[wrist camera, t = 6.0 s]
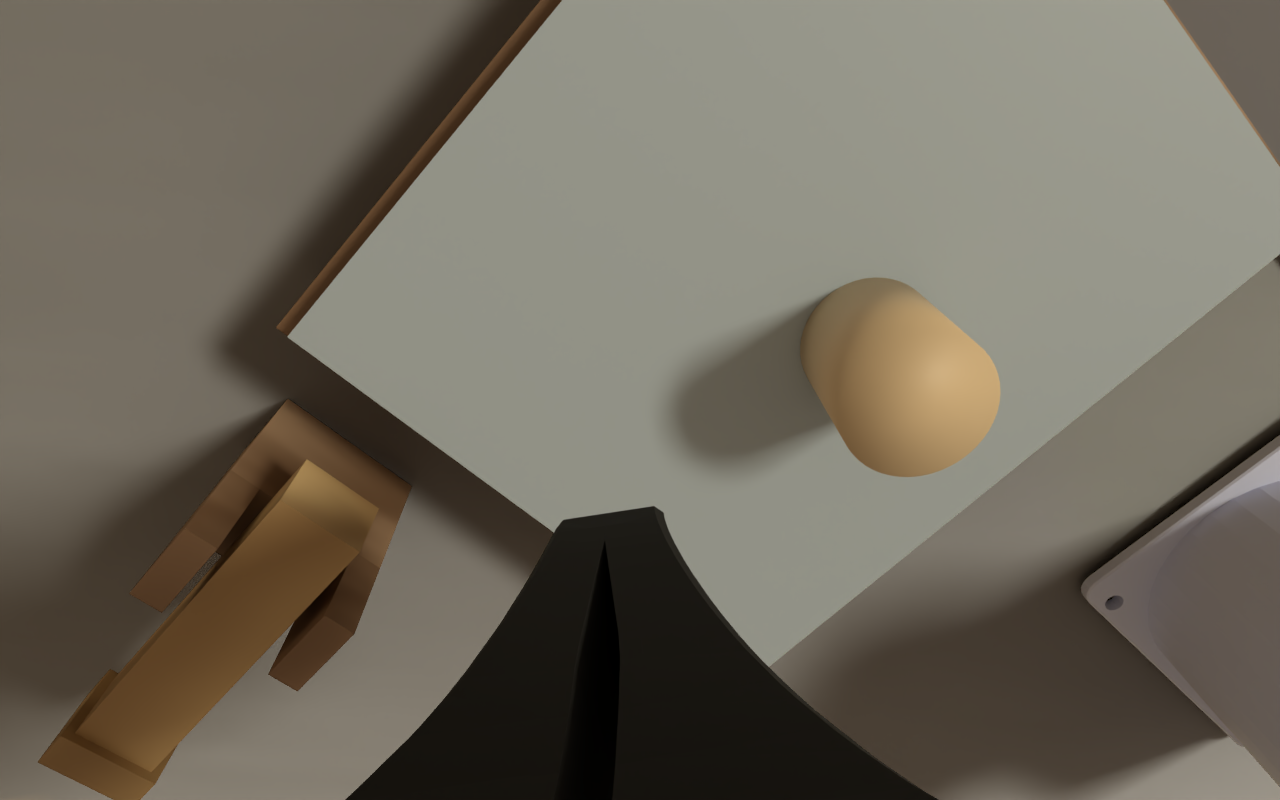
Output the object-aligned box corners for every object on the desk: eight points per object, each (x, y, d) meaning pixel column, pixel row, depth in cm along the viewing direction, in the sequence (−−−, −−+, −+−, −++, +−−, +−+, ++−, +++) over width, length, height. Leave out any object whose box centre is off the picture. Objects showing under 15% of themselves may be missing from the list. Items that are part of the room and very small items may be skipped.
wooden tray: (1217, 187, 20) (1442, 250, 15) (614, 700, 26) (619, 878, 20) (827, -340, 15) (947, -525, 10) (204, 425, 21) (75, 562, 16)
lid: (1267, 207, 18) (1460, 264, 14) (744, 640, 22) (777, 779, 18) (859, -359, 14) (969, -514, 10) (308, 313, 18) (225, 401, 14)
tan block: (388, 508, 18) (365, 563, 16) (172, 738, 21) (131, 808, 19) (301, 448, 17) (267, 499, 16) (88, 693, 20) (37, 762, 18)
